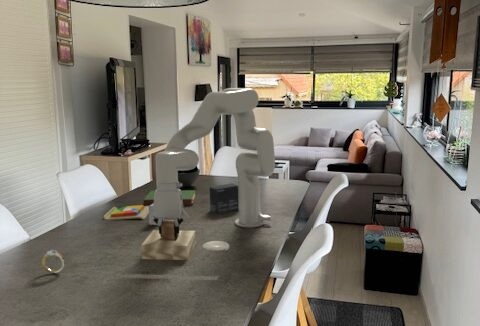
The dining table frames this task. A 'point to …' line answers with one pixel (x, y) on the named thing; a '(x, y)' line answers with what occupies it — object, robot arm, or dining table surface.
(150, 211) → the medicine box
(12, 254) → the dining table surface
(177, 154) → the robot arm
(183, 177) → the bowl of black rocks
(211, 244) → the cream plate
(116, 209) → the wooden puzzle
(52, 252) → the bracelet
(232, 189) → the small box
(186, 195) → the hardcover book
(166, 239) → the walnut peg
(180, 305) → the dining table surface
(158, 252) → the birch pocket block
